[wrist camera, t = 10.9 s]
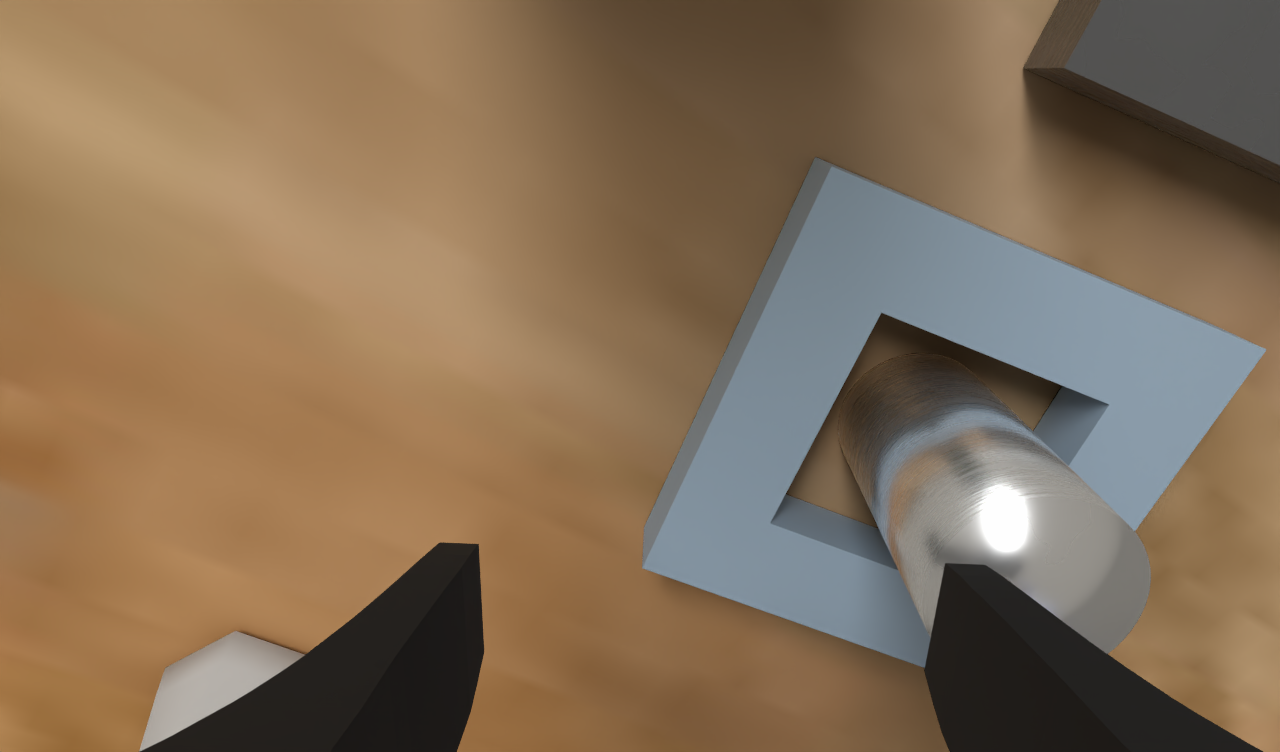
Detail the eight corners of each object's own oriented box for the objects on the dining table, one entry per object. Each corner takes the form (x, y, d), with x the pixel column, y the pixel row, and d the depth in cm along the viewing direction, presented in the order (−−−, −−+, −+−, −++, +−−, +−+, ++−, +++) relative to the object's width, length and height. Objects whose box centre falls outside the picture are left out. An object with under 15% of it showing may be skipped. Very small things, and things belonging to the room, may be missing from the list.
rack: (1210, 323, 20) (1266, 349, 18) (985, 650, 24) (1012, 699, 22) (815, 157, 19) (831, 166, 17) (644, 527, 23) (642, 568, 21)
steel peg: (1021, 395, 21) (1199, 557, 14) (932, 512, 22) (1055, 713, 15) (892, 327, 20) (1012, 459, 13) (809, 450, 22) (879, 631, 15)
